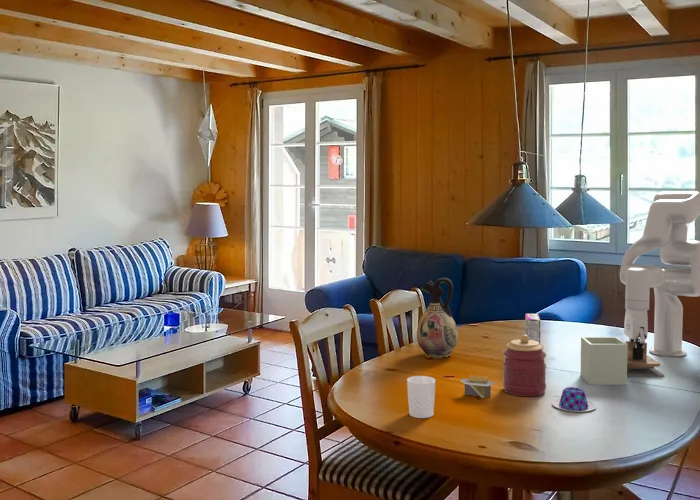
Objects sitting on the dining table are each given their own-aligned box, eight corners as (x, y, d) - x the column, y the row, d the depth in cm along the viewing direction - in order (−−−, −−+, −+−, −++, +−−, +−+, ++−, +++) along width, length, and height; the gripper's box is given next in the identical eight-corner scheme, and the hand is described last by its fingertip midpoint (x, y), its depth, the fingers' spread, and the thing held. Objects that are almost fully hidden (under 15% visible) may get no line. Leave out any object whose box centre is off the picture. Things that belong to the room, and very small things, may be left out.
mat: (608, 365, 242) (608, 364, 242) (649, 365, 241) (649, 364, 241) (621, 376, 228) (621, 375, 228) (664, 376, 227) (664, 375, 227)
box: (580, 375, 230) (581, 337, 229) (616, 375, 230) (616, 336, 228) (589, 384, 220) (589, 344, 219) (626, 384, 219) (627, 344, 218)
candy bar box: (524, 357, 256) (524, 313, 254) (538, 357, 255) (538, 313, 253) (525, 364, 245) (526, 319, 243) (540, 365, 244) (541, 319, 242)
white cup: (405, 410, 198) (404, 376, 197) (432, 409, 198) (432, 375, 197) (409, 419, 190) (409, 384, 189) (438, 418, 191) (438, 383, 190)
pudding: (563, 415, 192) (563, 397, 192) (545, 402, 204) (545, 384, 204) (603, 412, 194) (604, 394, 194) (583, 399, 206) (583, 382, 205)
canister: (522, 399, 206) (522, 341, 204) (494, 388, 217) (494, 333, 216) (555, 393, 212) (555, 336, 210) (526, 382, 223) (526, 328, 222)
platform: (503, 407, 201) (503, 385, 200) (442, 400, 207) (442, 379, 207) (510, 395, 212) (510, 374, 211) (452, 389, 218) (452, 369, 218)
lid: (612, 361, 240) (613, 338, 240) (647, 361, 240) (648, 338, 239) (622, 369, 230) (623, 345, 229) (659, 369, 229) (660, 345, 228)
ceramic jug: (411, 359, 255) (410, 278, 252) (423, 349, 269) (422, 273, 266) (456, 363, 249) (456, 280, 246) (466, 353, 263) (466, 275, 260)
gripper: (618, 300, 241) (616, 352, 243) (634, 309, 225) (632, 364, 227) (640, 300, 240) (638, 352, 242) (657, 308, 224) (656, 364, 226)
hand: (635, 357), depth 234 cm, fingers closed on lid, 3 cm apart
